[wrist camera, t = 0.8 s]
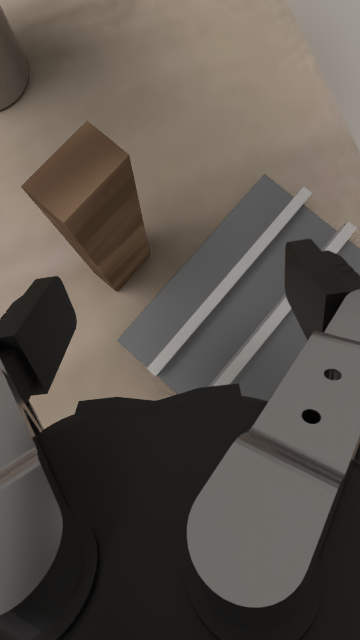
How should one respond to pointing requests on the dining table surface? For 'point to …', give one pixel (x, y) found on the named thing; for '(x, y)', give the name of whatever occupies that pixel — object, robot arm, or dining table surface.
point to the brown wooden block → (93, 203)
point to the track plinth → (235, 299)
